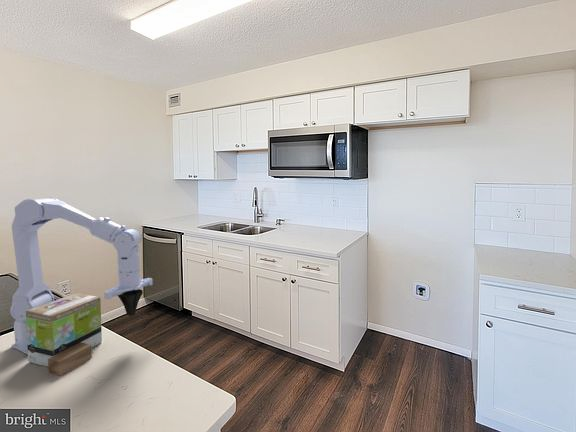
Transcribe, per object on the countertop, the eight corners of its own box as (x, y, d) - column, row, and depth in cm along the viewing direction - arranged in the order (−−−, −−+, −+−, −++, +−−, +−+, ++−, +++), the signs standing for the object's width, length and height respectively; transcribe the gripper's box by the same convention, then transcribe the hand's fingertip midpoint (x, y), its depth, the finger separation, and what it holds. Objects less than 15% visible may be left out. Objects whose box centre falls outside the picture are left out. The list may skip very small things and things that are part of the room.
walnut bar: (48, 373, 83) (47, 358, 82) (81, 355, 91) (80, 342, 91) (60, 376, 81) (59, 362, 81) (92, 358, 90) (91, 344, 89)
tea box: (55, 369, 84) (51, 315, 82) (27, 363, 87) (23, 310, 85) (103, 342, 98) (101, 295, 97) (78, 337, 101) (75, 291, 99)
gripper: (114, 278, 86) (117, 327, 88) (158, 266, 99) (160, 308, 101) (98, 274, 89) (101, 321, 91) (143, 263, 102) (144, 304, 104)
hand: (131, 314), depth 96 cm, fingers closed
